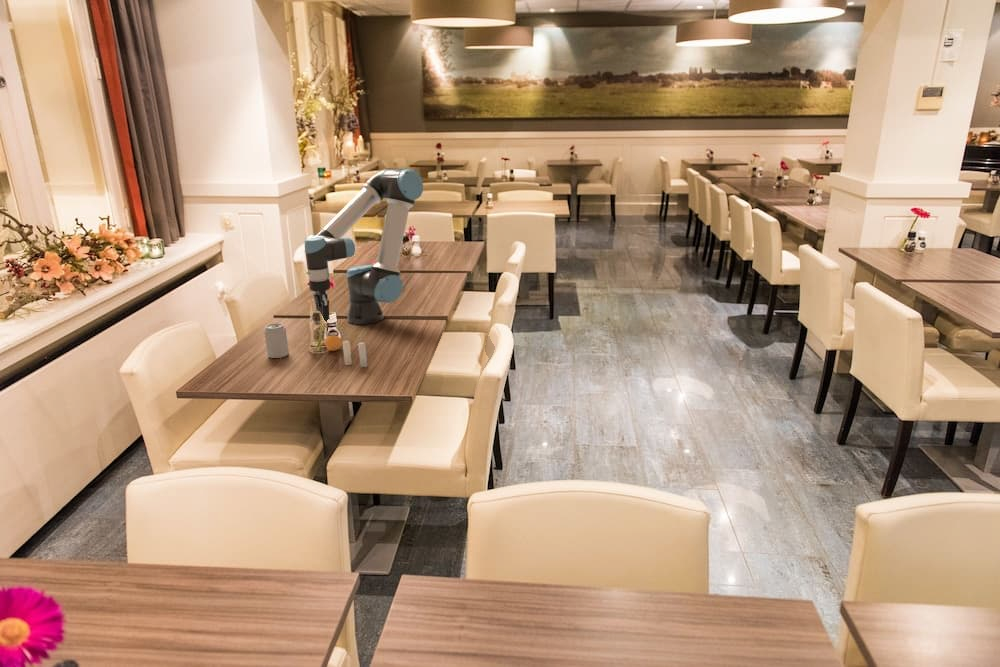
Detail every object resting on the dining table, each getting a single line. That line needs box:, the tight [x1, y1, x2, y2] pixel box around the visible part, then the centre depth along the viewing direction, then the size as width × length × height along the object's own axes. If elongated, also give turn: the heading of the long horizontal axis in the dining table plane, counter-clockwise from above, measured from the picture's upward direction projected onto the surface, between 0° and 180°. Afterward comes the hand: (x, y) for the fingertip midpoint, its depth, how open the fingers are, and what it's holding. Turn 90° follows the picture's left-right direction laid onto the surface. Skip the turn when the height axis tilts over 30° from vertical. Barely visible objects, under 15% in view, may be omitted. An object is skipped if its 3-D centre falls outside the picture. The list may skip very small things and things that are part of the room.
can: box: [263, 322, 290, 359], centre depth 246 cm, size 8×8×12 cm
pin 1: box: [341, 340, 353, 366], centre depth 236 cm, size 2×2×8 cm
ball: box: [324, 334, 342, 352], centre depth 251 cm, size 6×6×6 cm
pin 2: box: [357, 341, 368, 368], centre depth 234 cm, size 2×2×8 cm
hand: (325, 338), depth 258 cm, fingers closed
